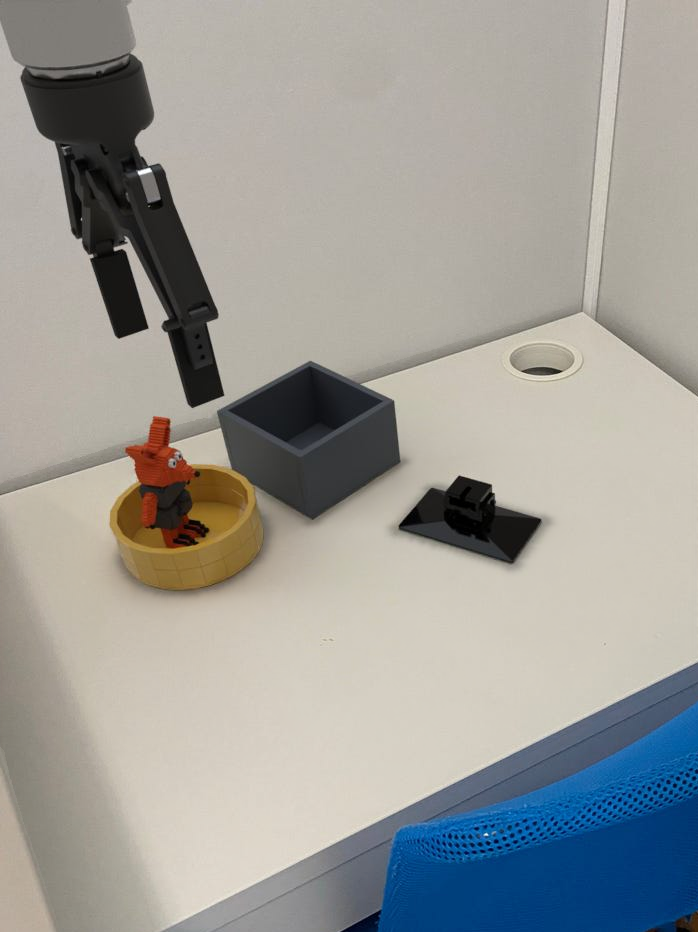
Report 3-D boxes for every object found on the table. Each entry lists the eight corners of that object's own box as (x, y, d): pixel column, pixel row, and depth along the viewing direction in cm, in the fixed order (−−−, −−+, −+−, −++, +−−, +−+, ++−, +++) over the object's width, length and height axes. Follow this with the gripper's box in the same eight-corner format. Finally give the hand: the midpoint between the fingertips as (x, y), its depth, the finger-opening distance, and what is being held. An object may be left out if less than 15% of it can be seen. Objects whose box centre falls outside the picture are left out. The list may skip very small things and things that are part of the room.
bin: (232, 472, 99) (216, 410, 94) (320, 420, 105) (310, 360, 100) (312, 520, 93) (300, 457, 88) (400, 462, 100) (394, 400, 94)
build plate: (397, 530, 92) (393, 492, 89) (432, 489, 96) (429, 451, 93) (512, 564, 88) (512, 525, 84) (543, 520, 92) (544, 481, 89)
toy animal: (200, 570, 88) (166, 465, 79) (148, 562, 89) (109, 456, 80) (236, 518, 93) (208, 413, 84) (187, 510, 94) (154, 406, 85)
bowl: (96, 549, 91) (80, 512, 87) (207, 484, 98) (196, 448, 94) (180, 610, 84) (166, 573, 81) (292, 536, 91) (284, 500, 88)
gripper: (224, 94, 54) (287, 414, 69) (63, 12, 68) (145, 294, 83) (100, 124, 51) (194, 452, 66) (-43, 32, 64) (63, 321, 80)
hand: (167, 364), depth 74 cm, fingers open, 13 cm apart
